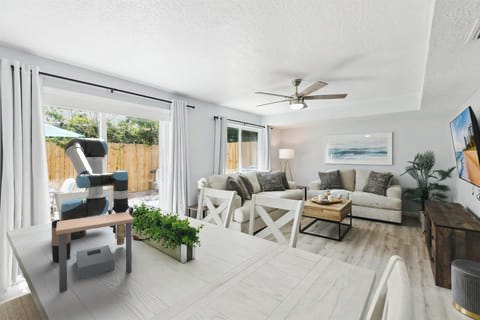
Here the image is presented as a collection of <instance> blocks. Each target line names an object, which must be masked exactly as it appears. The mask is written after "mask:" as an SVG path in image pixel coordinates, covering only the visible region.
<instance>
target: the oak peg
mask: <svg viewBox="0 0 480 320" xmlns="http://www.w3.org/2000/svg"><path fill="white" fill-rule="evenodd" d="M116 226H117V239H116V245H117V246H122V245H124V244H125V241H126V237H125V224H120V225H116Z"/></svg>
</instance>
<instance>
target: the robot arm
mask: <svg viewBox="0 0 480 320" xmlns="http://www.w3.org/2000/svg"><path fill="white" fill-rule="evenodd" d="M64 153H65V155H66V156H67V158H69V159H70V161H71V163H72V165H73V167H74V170H75V171H76V174H77V175H76V178H75V183H76V187H77V188H78V189H88V195H87V196H86V197H85V200H84V199H82V198H75V199H71V200H67V201H64V202H62V204H61V206H60V220H64V219H70V220H72V219H79V218H87V217H94V216H101V215H107V213H108V215H109V214H113V212H114V214H116V213H123V212H128V213H129V214H130V215H131V216H132V217H133V211H134V209H135V208H134V207H133V206H130V205H129V172H128V170H115V171H113V172H107V173H103V171H104V170H103V160H104V159H105V158H106V156H107V155H108V153H109V146H108V144H107V141H106V140H105V139H102V138H94V137H93V138H91V137H88V138H87V137H75V138H73V139H71V140H69V141H68V142H67V143H66V145H65V147H64ZM111 186H113V187H112V188H113V193H112V194H113V195H112V196H113V197H112V199H113V204H112V205H113V206H112V208H110V200H109V198H108V197H106V194H104V187H111ZM109 208H110V209H109ZM109 228H112V233H113V234H114V238H115V240H117V225H114V226H109ZM85 236H87V230H83V231H77V232H71V241H72V240H76V239H80V238H82V237H85ZM125 238H126V224H125Z"/></svg>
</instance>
